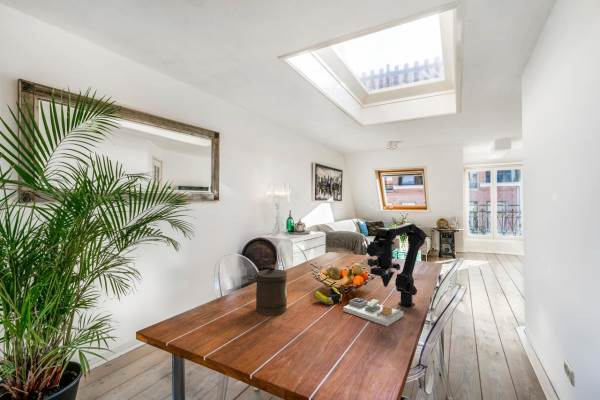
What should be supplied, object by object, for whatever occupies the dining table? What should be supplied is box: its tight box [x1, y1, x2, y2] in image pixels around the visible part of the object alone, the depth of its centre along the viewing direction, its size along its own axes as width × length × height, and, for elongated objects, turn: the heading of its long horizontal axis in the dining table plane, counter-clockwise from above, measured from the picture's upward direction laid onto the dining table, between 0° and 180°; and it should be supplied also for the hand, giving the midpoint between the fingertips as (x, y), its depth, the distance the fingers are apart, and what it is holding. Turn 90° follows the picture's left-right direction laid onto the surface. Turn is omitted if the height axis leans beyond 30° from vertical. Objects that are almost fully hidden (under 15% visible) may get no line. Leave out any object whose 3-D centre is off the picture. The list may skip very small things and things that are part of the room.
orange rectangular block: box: [382, 305, 393, 315], centre depth 128 cm, size 2×4×3 cm, turn 44°
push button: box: [354, 298, 364, 303], centre depth 141 cm, size 4×4×2 cm
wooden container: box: [255, 264, 288, 317], centre depth 139 cm, size 15×15×22 cm
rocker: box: [367, 298, 380, 308], centre depth 135 cm, size 6×3×1 cm, turn 134°
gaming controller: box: [314, 286, 343, 305], centre depth 151 cm, size 15×6×10 cm
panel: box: [343, 297, 404, 327], centre depth 135 cm, size 15×23×4 cm, turn 45°
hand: (385, 286), depth 137 cm, fingers closed
